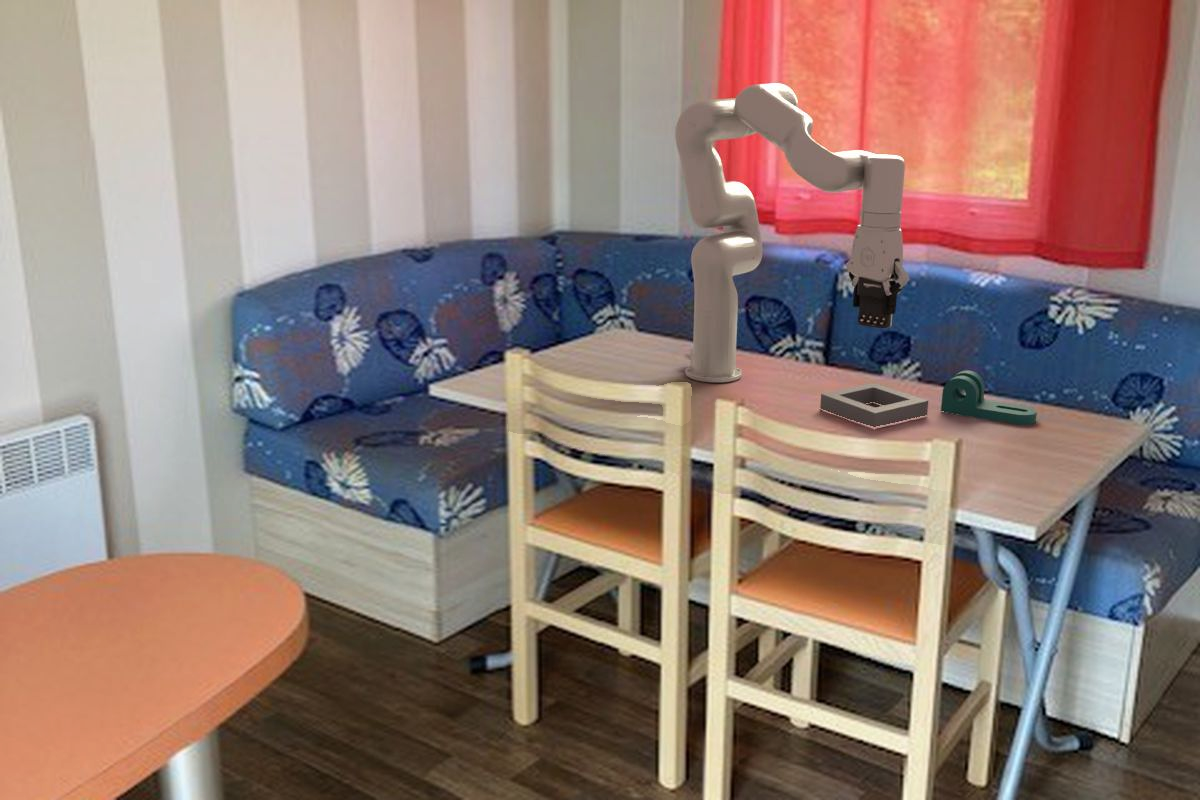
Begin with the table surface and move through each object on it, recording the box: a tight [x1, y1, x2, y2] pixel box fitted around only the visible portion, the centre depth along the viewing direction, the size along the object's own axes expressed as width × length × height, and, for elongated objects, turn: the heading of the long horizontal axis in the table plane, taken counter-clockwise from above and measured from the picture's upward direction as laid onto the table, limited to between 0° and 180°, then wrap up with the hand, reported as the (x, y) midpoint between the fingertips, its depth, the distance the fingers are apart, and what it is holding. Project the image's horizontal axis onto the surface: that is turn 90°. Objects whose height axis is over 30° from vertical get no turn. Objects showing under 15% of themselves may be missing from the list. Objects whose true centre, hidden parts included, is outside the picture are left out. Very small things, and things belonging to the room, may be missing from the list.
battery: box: [857, 276, 894, 329], centre depth 241 cm, size 7×4×11 cm, turn 53°
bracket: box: [940, 369, 1038, 426], centre depth 248 cm, size 18×7×8 cm, turn 60°
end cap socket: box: [819, 382, 929, 427], centre depth 248 cm, size 15×15×4 cm
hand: (873, 309), depth 242 cm, fingers closed on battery, 7 cm apart
